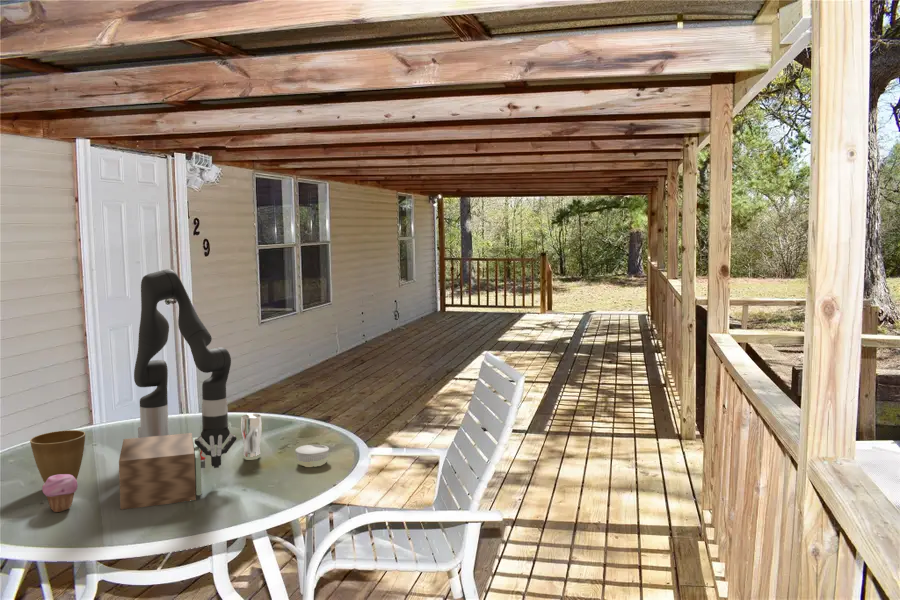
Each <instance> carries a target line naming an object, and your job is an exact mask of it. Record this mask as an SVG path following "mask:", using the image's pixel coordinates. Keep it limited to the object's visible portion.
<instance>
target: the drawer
mask: <svg viewBox="0 0 900 600" xmlns="http://www.w3.org/2000/svg"><path fill="white" fill-rule="evenodd" d="M197 438H198V437H192V439H193V447H194V456H195V493H196V496H200V495H202V492H203V491H202V469H205V468H206V459H205V460H201V457H200V451H199V449H200V448H199V447H198V446H197V445H196V444H195V441H194V440H195V439H197Z"/></svg>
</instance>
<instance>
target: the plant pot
mask: <svg viewBox="0 0 900 600" xmlns="http://www.w3.org/2000/svg"><path fill="white" fill-rule="evenodd" d="M29 443H30V447H31V451H32V454H33V458H34V460H35V465H36V467H37V470H38V472H39V474H40V477H41V479H42V481H43V484H44V483H45V482H46V480H47V479H48V478H49V477H50V476H53V475H58V474H70V475H73V476H74V477H75V479H76V480H78V476H79V473H80V470H81V467H82V466H81V465H82V462H83V456H84V451H85V443H86V432H85V431H83V430H77V429H76V430H75V429H69V430H68V429H67V430H58V431H57V430H56V431H51V432H46V433H42V434H41V433H40V434H38V435H36V436H33V437H32V438H30V440H29Z"/></svg>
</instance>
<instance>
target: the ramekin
mask: <svg viewBox="0 0 900 600" xmlns="http://www.w3.org/2000/svg"><path fill="white" fill-rule="evenodd" d="M294 451H295V455H296V460H297V459H298V460H299V461H303V462H310V461H318V460H321V459H324V458H326V457H327V456H328V455H329V452H330V448H329V446H327V445H324V444H323V445H322V444H306V445H305V444H304V445H301V446H298V447H297V448H296V449H295V450H294ZM327 458H328V457H327Z"/></svg>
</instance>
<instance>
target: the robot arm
mask: <svg viewBox="0 0 900 600" xmlns="http://www.w3.org/2000/svg"><path fill="white" fill-rule="evenodd" d="M171 298H174V299H175V301H176V302H177V304H178V318H177V319H178V321H177V324H178V325H177V326H178V329H179V332H180V334H181V335H182V337H183V338H184V340H185V341H186V343H187V344H188V346H189V348H190V351H191V354H192V359H193V362H194V364H195V367H196V368H197V369H198V370H199V371H200V372H202V373H205V374H206V373H207V374H208V373H211V374H210V376H209V377H208V378H207V379H205V380H204V381H203V382H202V386H201V389H202V391H201V392H202V393H201V395H202V397H201V398H202V403H201V417H202V418H201V419H202V420H201V422H202V425H201V426H202V428H201V429H202V430H201V433H200V436H198V437H197V439H195V440H194V441H195V444H196V445H197V446H198V447H199V449H200V450H202V453H203V454H204V455H206V456H210V460H211V462H210V463H211V464H210V465H211V467H213V468H214V469H217V468H220V466H222V455H224V454H227V453H228V451H229V450H230V448H232V446H233V445H234V444H235V442H236V441H237V436H236V435H235V434H232V433H231V432H230V429H229V420H228V419H229V418H228V417H229V416H228V415H229V414H228V413H229V410H228V401H227V382H228V378H229V374H230V370H231V364H232V359H231V357H232V356H231V355H230V352H229V350H228V349H226V348H225V347H220V346H219V347H215V348H208V347H209V346H210V344H211V343H212V340H213V339H212V335H211V333H210V332H209V330H208V329H207V327H206V326H205V325H204V323H203V321H201V319H200V317H199V315H198V314H197V312H196V309H195V308H194V306H193V303H192V301H191V298H190V297H189V295H188V293H187V290H186V287H185V286H184V284H183V282H182V280H181V278H180V277H179V275H178V274H177V272H175V271H174V270H173V269H170V268H169V269H162V270H159V271H158V270H157V271H156V272H155V271H154V272H151V273H148V274H146V275H144V276H143V277H142V278H141V282H140V301H141V302H140V304H141V305H140V307H141V311H140V321H139V328H138V344H137V354H136V359H135V363H134V364H135V365H134V370H133V380H134V383H135V386H137V387H138V388H151V387H155V389H154V390H153V391H151V392H150V393H148V394H145V395H144V396H142V397H141V398H140V399H139V417H140V418H139V420H140V421H139V422H140V425H139V426H138V428H137V438H141V437H152V436H163V435H170V433H169V432H170V431H169V405H168V404H169V402H168V381H169V380H168V379H169V378H168V377H169V375H168V372H169V370H168V364H167V362H166V361H165V360H164V359H157V360H151V359H153V358H154V357H155V356H156V355H157V354H158V353H159V352H160V351H161V350H162V349H163V348H164V347H165V346H166V345H167V343H168V339H169V332H170V324H169V321H168V320H167V318H166V317H165V315H163V314H162V313H161V312H160V311H159V310H158V303H159V302H161V301H164V300H168V299H171ZM227 439H228V440H227ZM226 441H227V442H226ZM204 442H205V443H206V444H207V445H208V446H209V449H208V448H207V446H205V445H204V444H203V443H204ZM225 442H226V444H225V445H224V446H223V447H222V445H223V444H224V443H225ZM215 446H216V447H215Z"/></svg>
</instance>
